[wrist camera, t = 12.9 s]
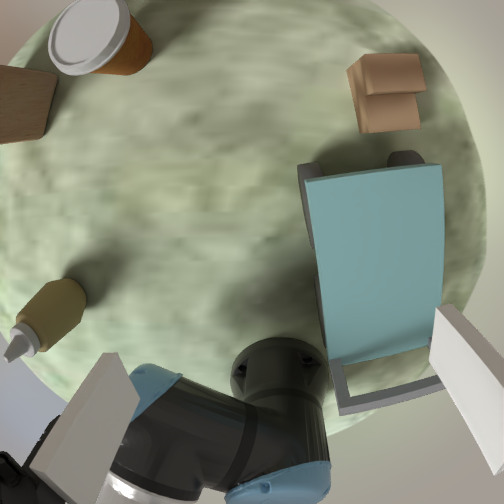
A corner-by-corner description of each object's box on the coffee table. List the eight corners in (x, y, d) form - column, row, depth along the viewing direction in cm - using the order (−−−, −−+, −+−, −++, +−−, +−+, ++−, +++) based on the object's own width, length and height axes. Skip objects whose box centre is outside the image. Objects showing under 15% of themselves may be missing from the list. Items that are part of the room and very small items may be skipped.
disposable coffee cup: (174, 66, 32) (134, 39, 21) (109, 99, 33) (53, 91, 22) (153, 9, 29) (113, -28, 18) (92, 44, 30) (39, 23, 19)
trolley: (404, 304, 41) (459, 389, 24) (318, 322, 42) (339, 422, 25) (396, 148, 34) (486, 162, 17) (294, 161, 35) (317, 182, 18)
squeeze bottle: (62, 261, 42) (-13, 318, 25) (100, 294, 43) (34, 365, 26) (48, 293, 44) (-16, 352, 27) (83, 324, 46) (25, 393, 29)
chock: (403, 129, 33) (433, 128, 25) (359, 133, 34) (382, 132, 26) (390, 68, 30) (418, 53, 23) (346, 70, 31) (364, 54, 23)
